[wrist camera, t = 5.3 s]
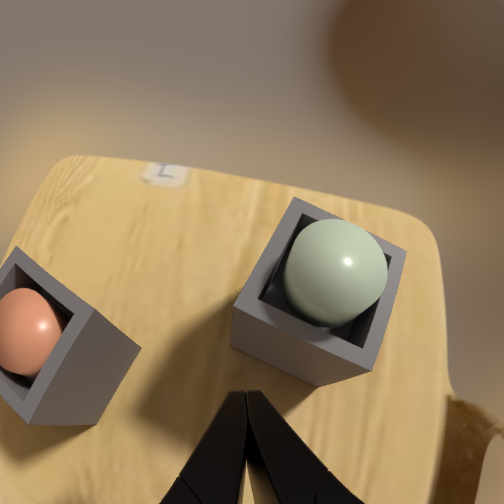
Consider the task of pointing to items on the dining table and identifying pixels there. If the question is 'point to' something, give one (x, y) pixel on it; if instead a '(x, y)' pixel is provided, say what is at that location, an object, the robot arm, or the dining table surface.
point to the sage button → (333, 273)
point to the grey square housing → (66, 355)
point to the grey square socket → (296, 329)
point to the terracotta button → (28, 331)
